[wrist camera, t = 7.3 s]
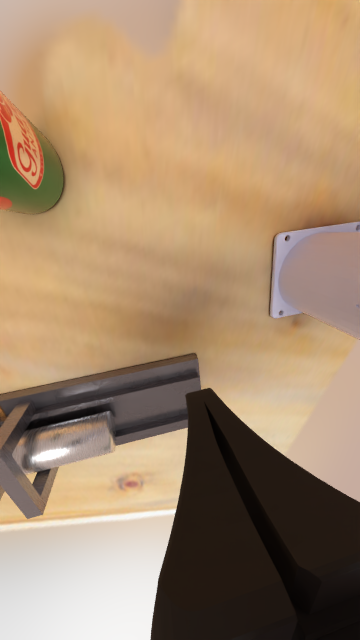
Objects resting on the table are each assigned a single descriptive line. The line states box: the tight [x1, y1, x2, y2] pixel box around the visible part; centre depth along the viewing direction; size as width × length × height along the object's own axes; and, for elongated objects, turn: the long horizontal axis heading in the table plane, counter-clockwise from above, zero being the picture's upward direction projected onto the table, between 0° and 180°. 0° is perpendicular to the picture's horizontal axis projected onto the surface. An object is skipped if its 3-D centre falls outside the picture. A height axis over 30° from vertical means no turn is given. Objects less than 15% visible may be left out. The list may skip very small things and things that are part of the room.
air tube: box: [12, 411, 116, 475], centre depth 19 cm, size 13×4×4 cm, turn 97°
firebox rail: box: [0, 354, 201, 519], centre depth 19 cm, size 25×9×6 cm, turn 97°
